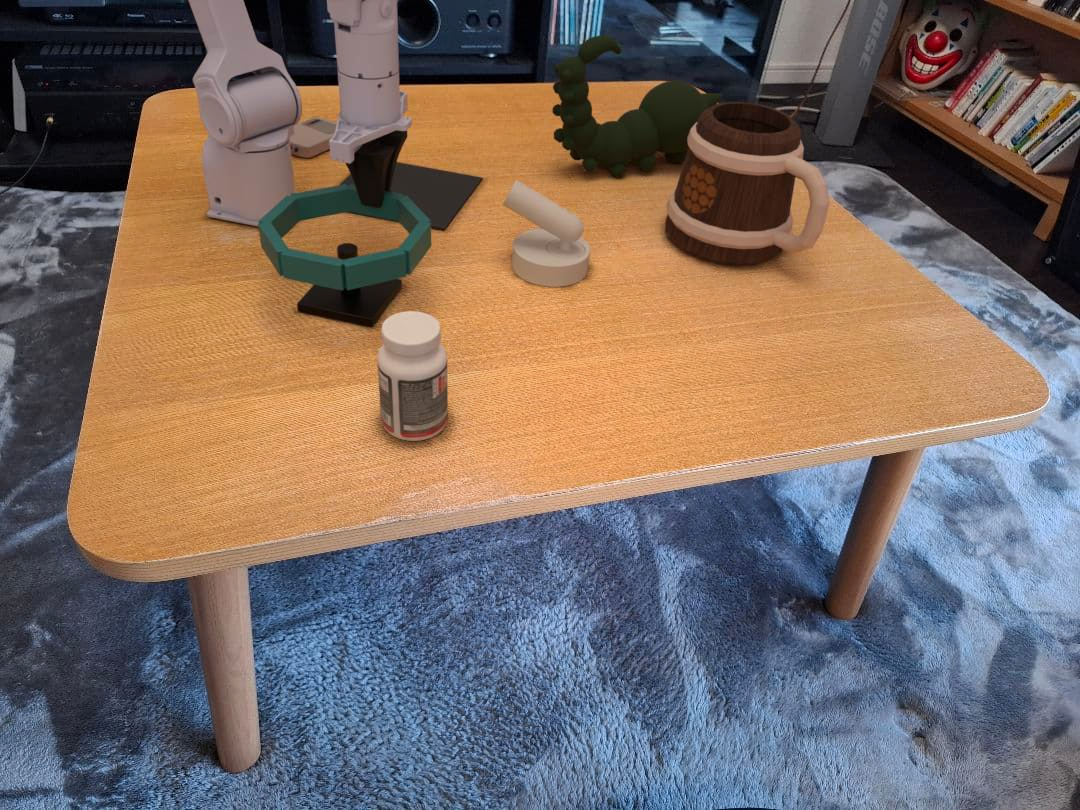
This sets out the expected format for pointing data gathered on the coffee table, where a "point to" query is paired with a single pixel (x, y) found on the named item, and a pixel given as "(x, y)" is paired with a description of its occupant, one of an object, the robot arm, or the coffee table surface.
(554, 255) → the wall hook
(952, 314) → the coffee table surface
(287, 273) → the hoop
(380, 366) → the pill bottle
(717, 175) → the mug
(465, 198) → the mat
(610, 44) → the toy figurine
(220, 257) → the coffee table surface
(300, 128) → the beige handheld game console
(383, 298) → the post
